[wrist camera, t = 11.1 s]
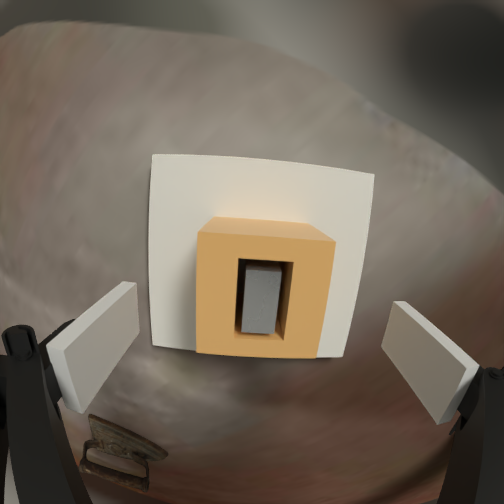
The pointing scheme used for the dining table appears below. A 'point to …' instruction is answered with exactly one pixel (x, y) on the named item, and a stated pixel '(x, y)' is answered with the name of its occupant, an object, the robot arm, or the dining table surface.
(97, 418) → the clothes iron
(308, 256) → the hollow tan cube
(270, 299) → the steel shaft
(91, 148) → the dining table surface
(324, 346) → the base plate
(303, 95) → the dining table surface
